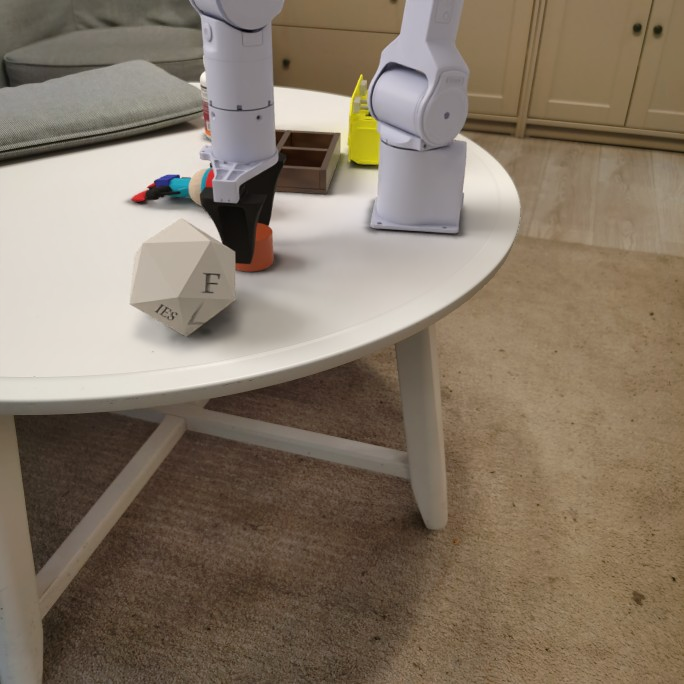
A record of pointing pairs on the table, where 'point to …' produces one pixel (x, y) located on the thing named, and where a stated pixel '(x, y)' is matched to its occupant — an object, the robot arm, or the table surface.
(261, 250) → the orange short cylinder
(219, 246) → the die
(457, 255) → the table surface
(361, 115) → the yellow toy chassis
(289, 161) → the grid
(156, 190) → the toy figure
